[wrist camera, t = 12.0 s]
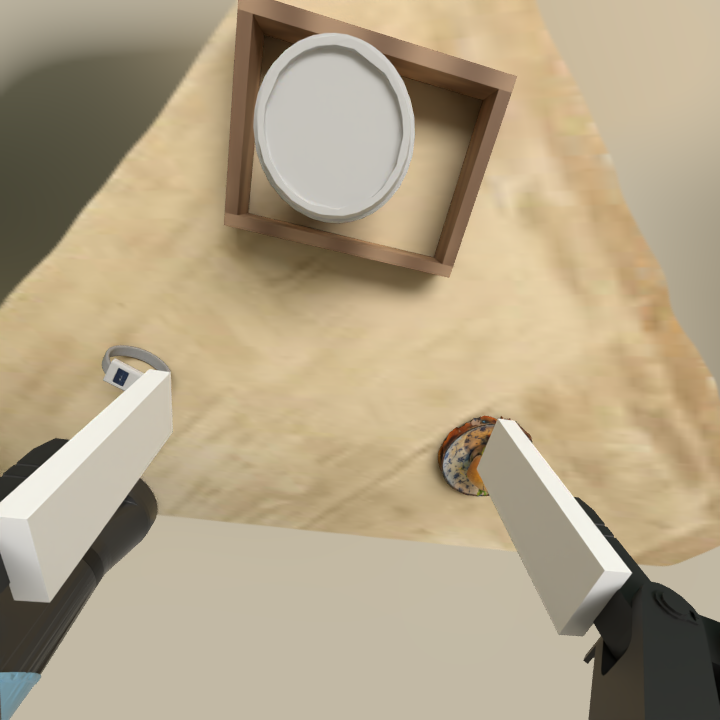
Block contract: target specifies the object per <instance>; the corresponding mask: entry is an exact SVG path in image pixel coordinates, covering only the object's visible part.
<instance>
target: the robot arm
mask: <svg viewBox="0 0 720 720" xmlns="http://www.w3.org/2000/svg"><path fill="white" fill-rule="evenodd" d="M172 432H173V424H172V394H171V372H166V371H158V370H151V369H149V370H148V371H147V372H146V373H144V374H143V375H142V376H141V377H140V378H139V379H138V380H137V381H135V382H134V383H133V384H132V385H131V386H130V387H129V388H128V389H127V390H125V391H124V392H123V393H122V394H121V395H120V396H119V397H118V398H116V399H115V400H114V401H113V402H112V403H111V404H110V405H109V406H108V407H106V408H105V409H104V410H103V411H102V412H101V413H100V414H99V415H97V416H96V417H95V418H94V419H93V420H92V421H91V422H90V423H89V424H87V425H86V426H85V427H84V428H83V429H82V430H81V431H80V432H78V433H77V434H76V435H75V436H74V437H73V438H72V439H71V440H66V439H58V438H55V439H53V440H51V441H49V442H47V443H45V444H43V445H41V446H38V447H36V448H34V449H33V450H32V451H30V452H29V453H28V454H27V455H25V456H24V457H23V458H22V459H21V460H19V461H18V462H17V464H16V465H13V466H12V467H11V468H10V469H8V470H7V471H6V472H5V473H3V476H2V477H0V720H9V719H10V718H11V716H12V715H13V714H14V712H15V711H16V709H17V708H18V707H19V705H20V704H21V702H22V701H23V700H24V698H25V697H26V696H27V694H28V693H29V691H30V690H31V689H32V687H33V686H34V685H35V684H36V683H37V682H38V681H39V679H40V678H41V673H42V672H43V670H44V668H45V667H46V665H47V664H48V662H49V660H50V659H51V657H52V656H53V654H54V653H55V651H56V650H57V648H58V646H59V645H60V643H61V642H62V640H63V639H64V637H65V635H66V634H67V632H68V631H69V629H70V628H71V626H72V624H73V623H74V621H75V620H76V618H77V617H78V615H79V613H80V612H81V610H82V609H83V607H84V606H85V604H86V602H87V601H88V599H89V598H90V596H91V595H92V593H93V591H94V590H95V588H96V587H97V585H98V583H99V582H100V580H101V579H102V577H103V576H104V574H105V573H106V572H107V571H109V569H111V568H112V567H113V566H114V565H115V564H116V563H117V562H118V561H120V560H121V559H122V558H123V557H124V556H125V555H126V554H127V553H128V552H130V551H131V550H132V549H133V548H134V547H135V546H136V545H137V544H138V543H139V542H141V541H142V539H143V538H144V537H145V536H146V534H147V533H148V531H149V529H150V528H151V526H152V524H153V523H154V521H155V519H156V515H157V504H156V500H155V497H154V495H153V493H152V492H151V490H150V489H149V487H148V486H147V485H146V484H145V483H144V482H143V481H142V480H141V479H140V477H141V475H142V474H143V473H144V471H145V470H146V468H147V467H148V466H149V464H150V463H151V462H152V460H153V459H154V457H155V456H156V455H157V453H158V452H159V450H160V449H161V448H162V446H163V445H164V443H165V442H166V441H167V439H168V438H169V437H170V435H171V434H172ZM477 471H478V473H479V475H480V477H481V479H482V481H483V483H484V485H485V487H486V489H487V491H488V493H489V495H490V497H491V499H492V501H493V503H494V505H495V507H496V509H497V511H498V513H499V515H500V517H501V519H502V521H503V523H504V525H505V527H506V529H507V531H508V533H509V535H510V537H511V540H512V542H513V544H514V546H515V548H516V550H517V552H518V554H519V556H520V557H521V560H522V562H523V564H524V566H525V568H526V570H527V572H528V574H529V576H530V578H531V579H532V582H533V584H534V586H535V588H536V590H537V592H538V594H539V596H540V598H541V600H542V602H543V604H544V606H545V608H546V610H547V612H548V614H549V616H550V618H551V620H552V622H553V624H554V626H555V628H556V630H557V632H558V634H559V635H572V636H584V635H585V633H586V632H587V631H588V630H589V628H590V627H591V626H592V624H593V623H594V624H595V626H596V628H597V630H598V631H599V633H600V634H601V637H600V638H599V639H598V641H597V642H596V643H595V644H594V645H593V647H592V648H591V649H590V650H589V652H588V653H587V654H586V656H585V658H584V661H585V662H586V663H589V661H590V660H591V659H592V658H595V660H594V670H593V679H592V690H591V700H590V710H589V720H720V622H717V621H715V620H712V619H709V618H707V617H704V616H701V615H699V614H698V613H697V612H696V611H695V609H694V608H693V607H692V606H691V605H690V604H689V603H688V602H687V601H686V600H685V599H683V597H682V596H680V595H679V594H677V593H676V592H674V591H673V590H671V589H670V588H668V587H666V586H664V585H662V584H659V583H655V582H651V581H650V580H649V578H648V577H647V576H646V575H645V574H644V572H643V571H642V570H641V569H640V567H639V566H638V565H637V564H636V562H635V561H634V560H633V559H632V557H631V556H630V555H629V554H628V552H627V551H626V550H625V549H624V547H623V546H622V545H621V544H620V542H619V541H618V540H617V539H616V538H614V535H613V534H612V532H611V531H610V530H609V529H608V527H605V524H604V522H603V521H602V520H601V519H600V517H599V516H598V515H597V514H596V513H595V511H594V510H593V509H592V508H590V507H589V506H588V505H587V504H586V503H584V502H583V501H582V500H581V499H580V498H578V497H573V496H572V494H571V493H570V492H569V491H568V489H567V488H566V487H565V485H564V484H563V483H562V481H561V480H560V479H559V478H558V476H557V475H556V474H555V472H554V471H553V470H552V469H551V467H550V466H549V465H548V463H547V462H546V461H545V459H544V458H543V457H542V456H541V454H540V453H539V452H538V450H537V449H536V448H535V446H534V445H533V444H532V443H531V441H530V440H529V439H528V437H527V436H526V435H525V434H524V432H523V431H522V430H521V428H520V427H519V426H518V424H517V423H516V422H515V421H512V420H505V419H497V421H496V424H495V426H494V429H493V431H492V433H491V436H490V438H489V441H488V443H487V445H486V448H485V450H484V452H483V455H482V457H481V460H480V462H479V464H478V467H477Z"/></svg>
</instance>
